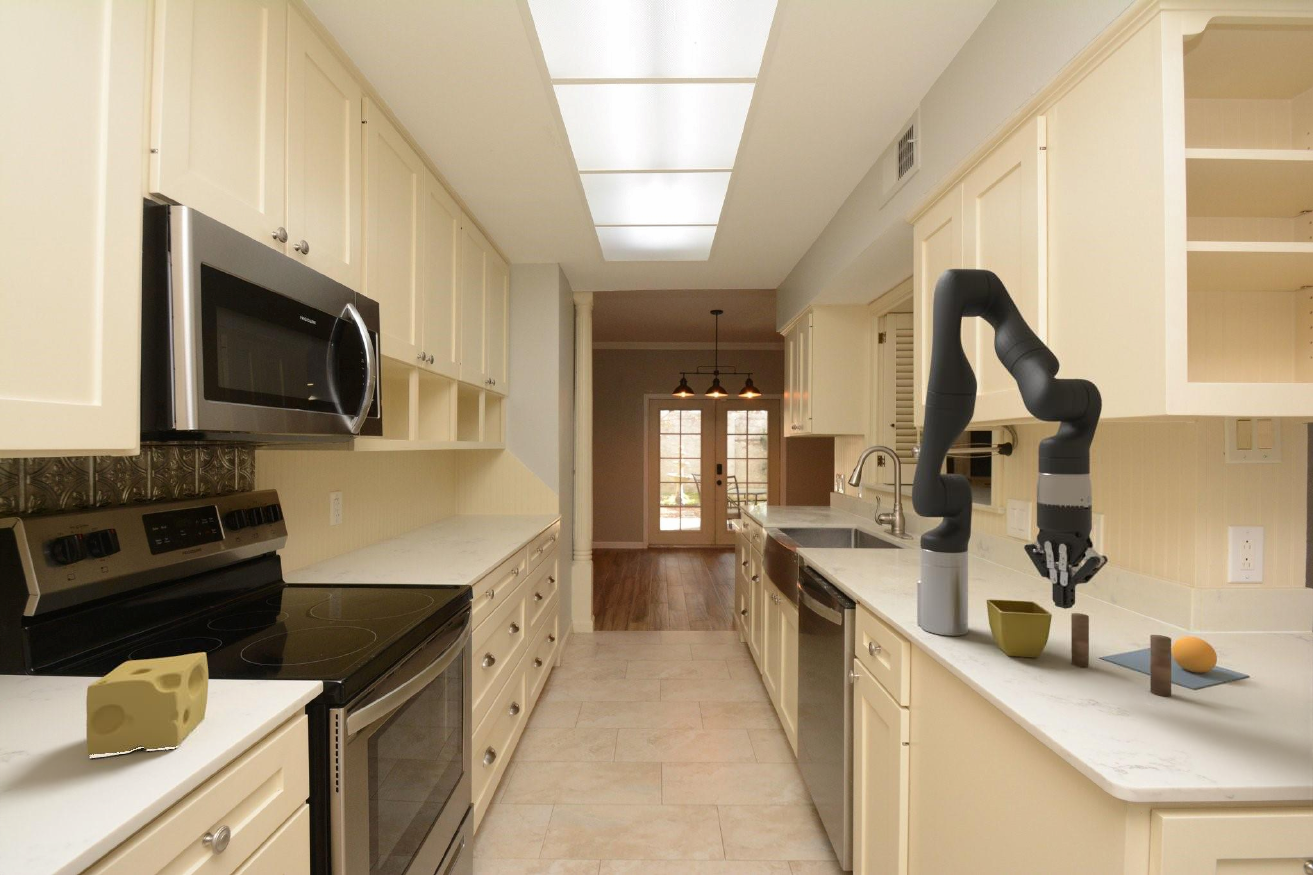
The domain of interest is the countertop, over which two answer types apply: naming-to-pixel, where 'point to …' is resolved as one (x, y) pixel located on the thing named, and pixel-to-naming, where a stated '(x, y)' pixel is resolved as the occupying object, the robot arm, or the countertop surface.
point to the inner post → (1080, 640)
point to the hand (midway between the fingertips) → (1063, 607)
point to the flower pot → (1019, 626)
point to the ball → (1194, 654)
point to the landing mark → (1175, 670)
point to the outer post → (1160, 665)
